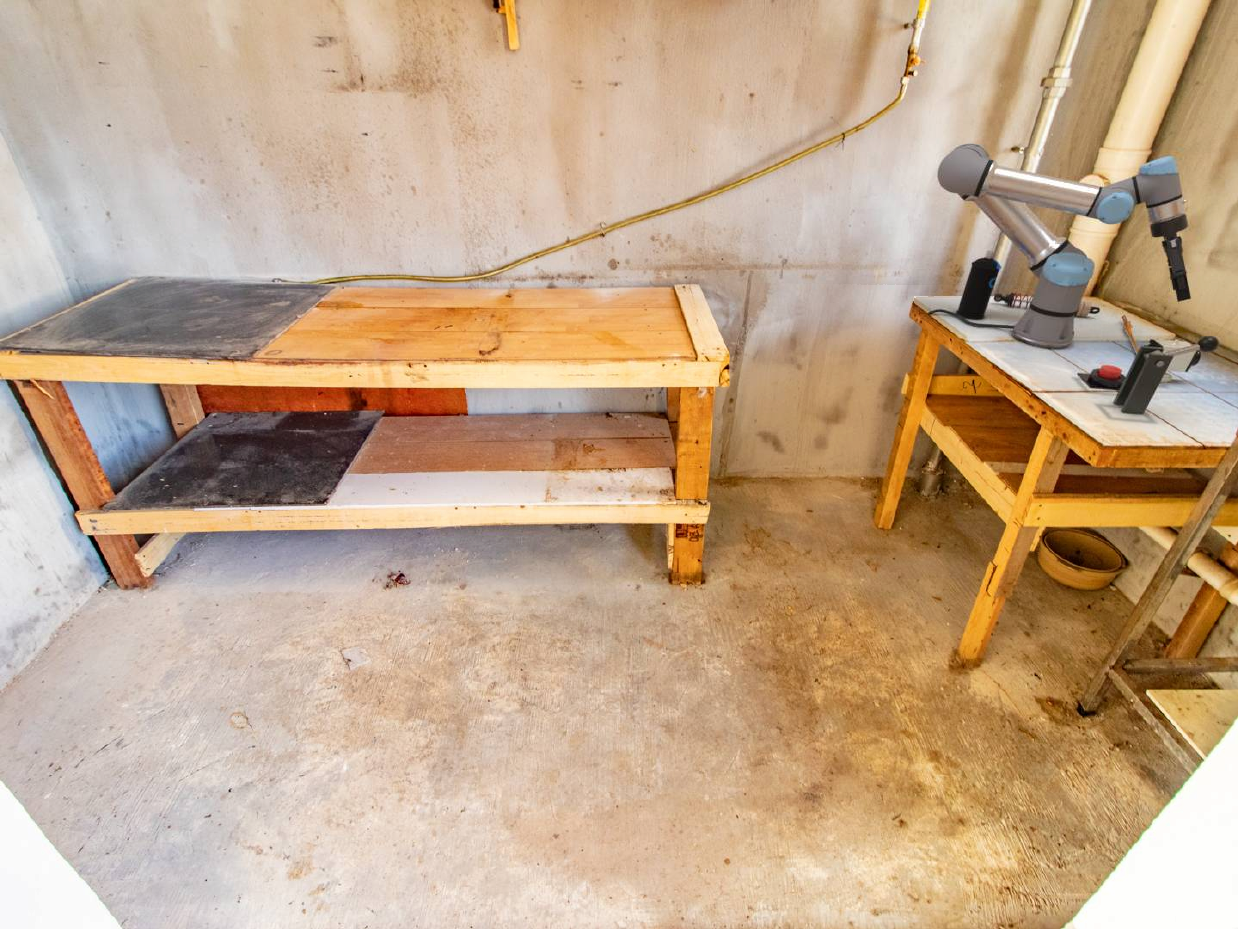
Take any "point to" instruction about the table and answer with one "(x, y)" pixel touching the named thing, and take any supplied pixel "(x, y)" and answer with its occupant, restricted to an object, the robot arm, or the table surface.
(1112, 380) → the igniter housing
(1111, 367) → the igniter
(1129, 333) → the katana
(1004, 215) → the robot arm
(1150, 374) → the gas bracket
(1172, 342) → the pneumatic valve
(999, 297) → the shock absorber
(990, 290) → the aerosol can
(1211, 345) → the lever
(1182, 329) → the table surface
